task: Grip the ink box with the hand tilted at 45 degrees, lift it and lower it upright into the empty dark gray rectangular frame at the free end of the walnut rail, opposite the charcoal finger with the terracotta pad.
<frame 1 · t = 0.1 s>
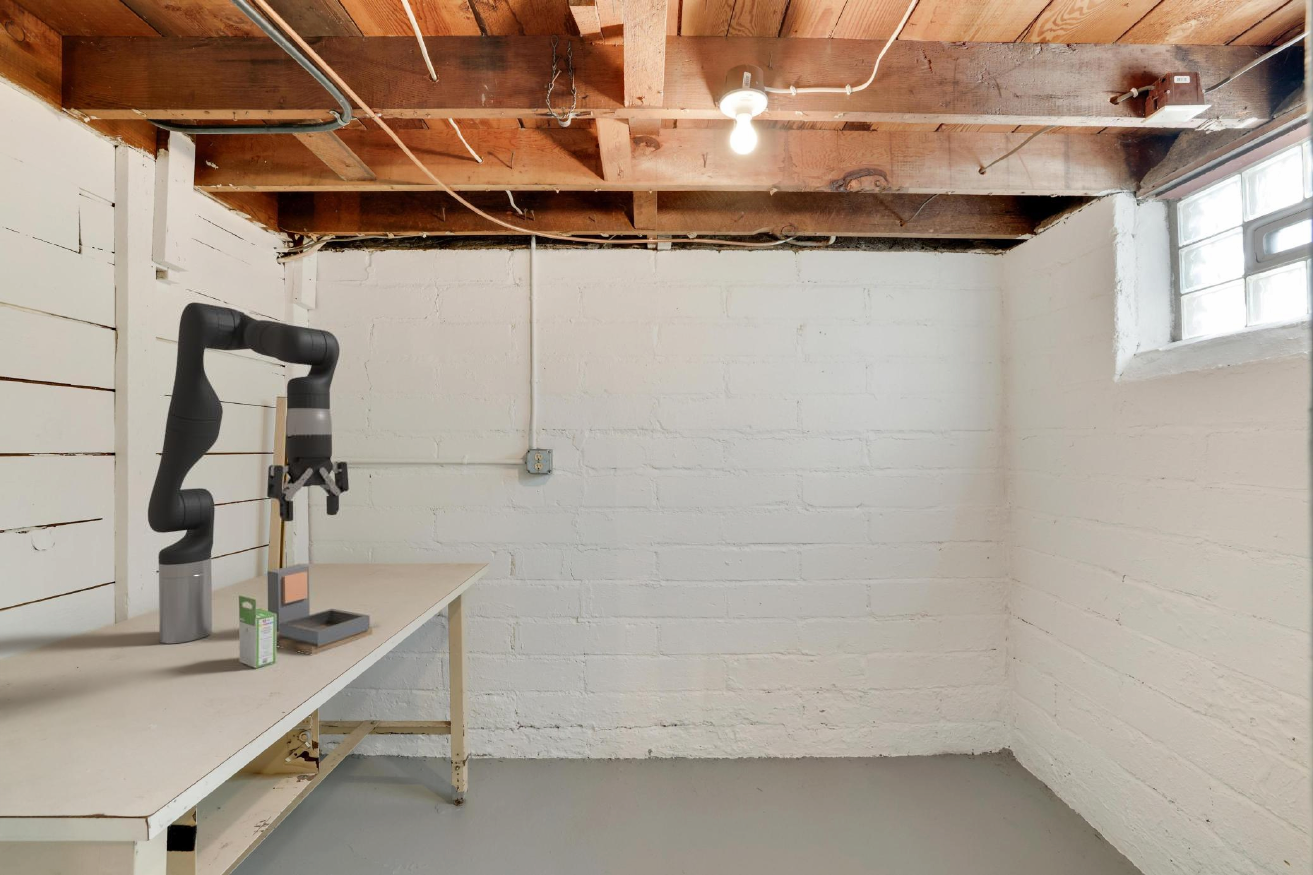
hand: (310, 517, 111), 29 cm above the workbench, tool pointing down, fingers open, 8 cm apart
dark gray rectangular frame: (325, 639, 128), resting on walnut rail base
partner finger: (289, 631, 133), resting on walnut rail base
walnut rail base: (311, 636, 130), on the workbench
ink box: (258, 663, 115), on the workbench
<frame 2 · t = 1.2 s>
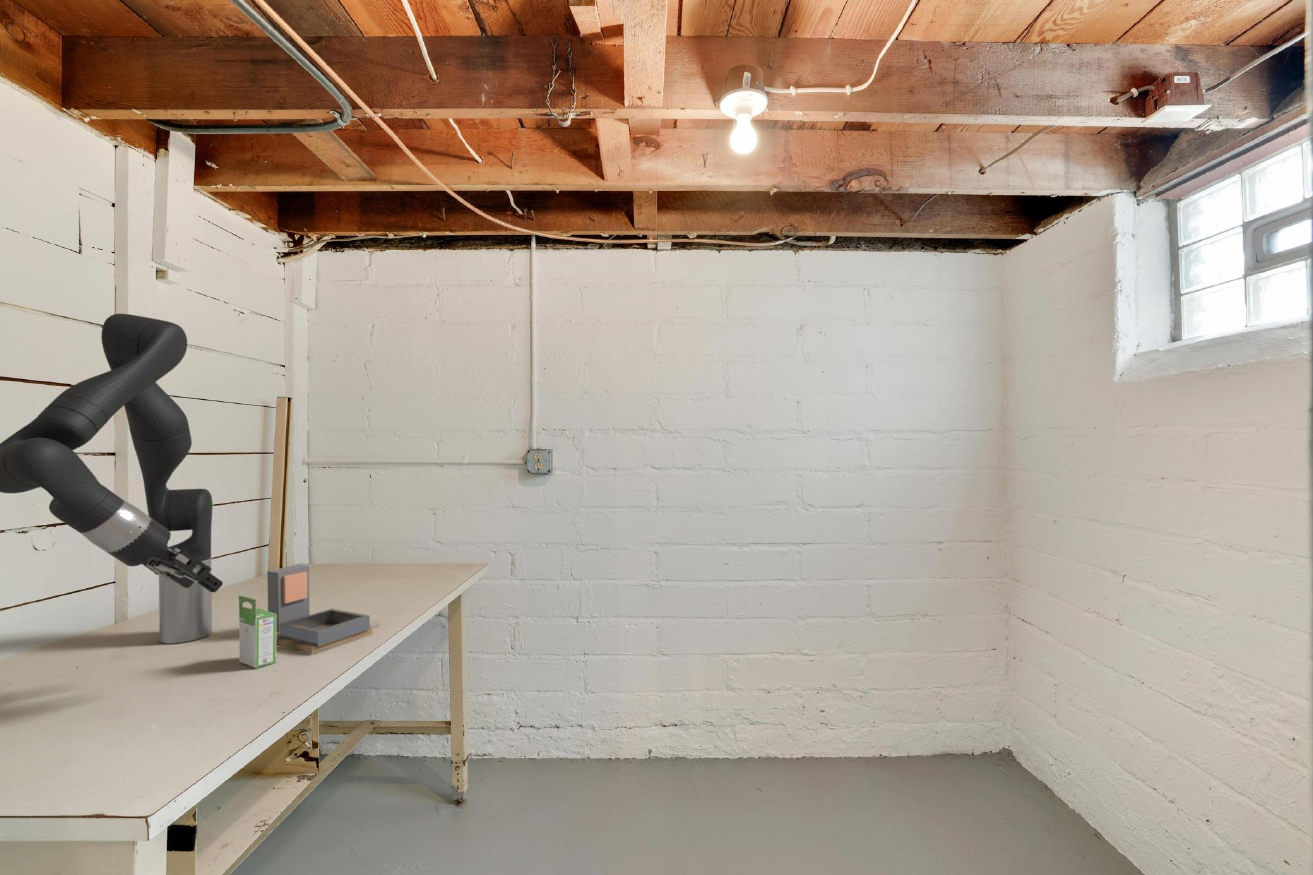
hand: (204, 585, 107), 17 cm above the workbench, tool tilted 45°, fingers open, 8 cm apart
nothing on the workbench moved.
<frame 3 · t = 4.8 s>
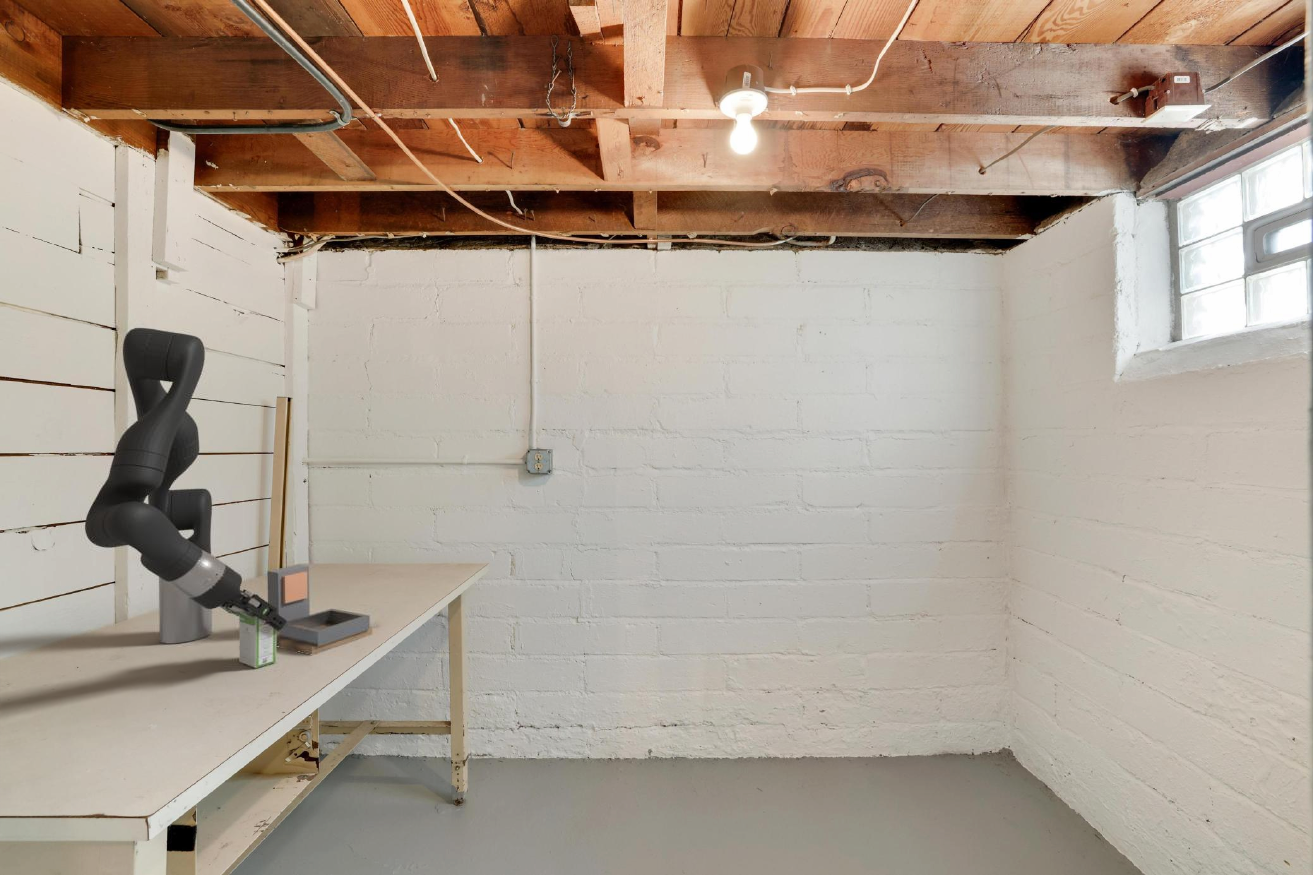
hand: (270, 623, 117), 7 cm above the workbench, tool tilted 45°, fingers closed on ink box, 7 cm apart
ink box: (258, 663, 115), on the workbench, touching gripper
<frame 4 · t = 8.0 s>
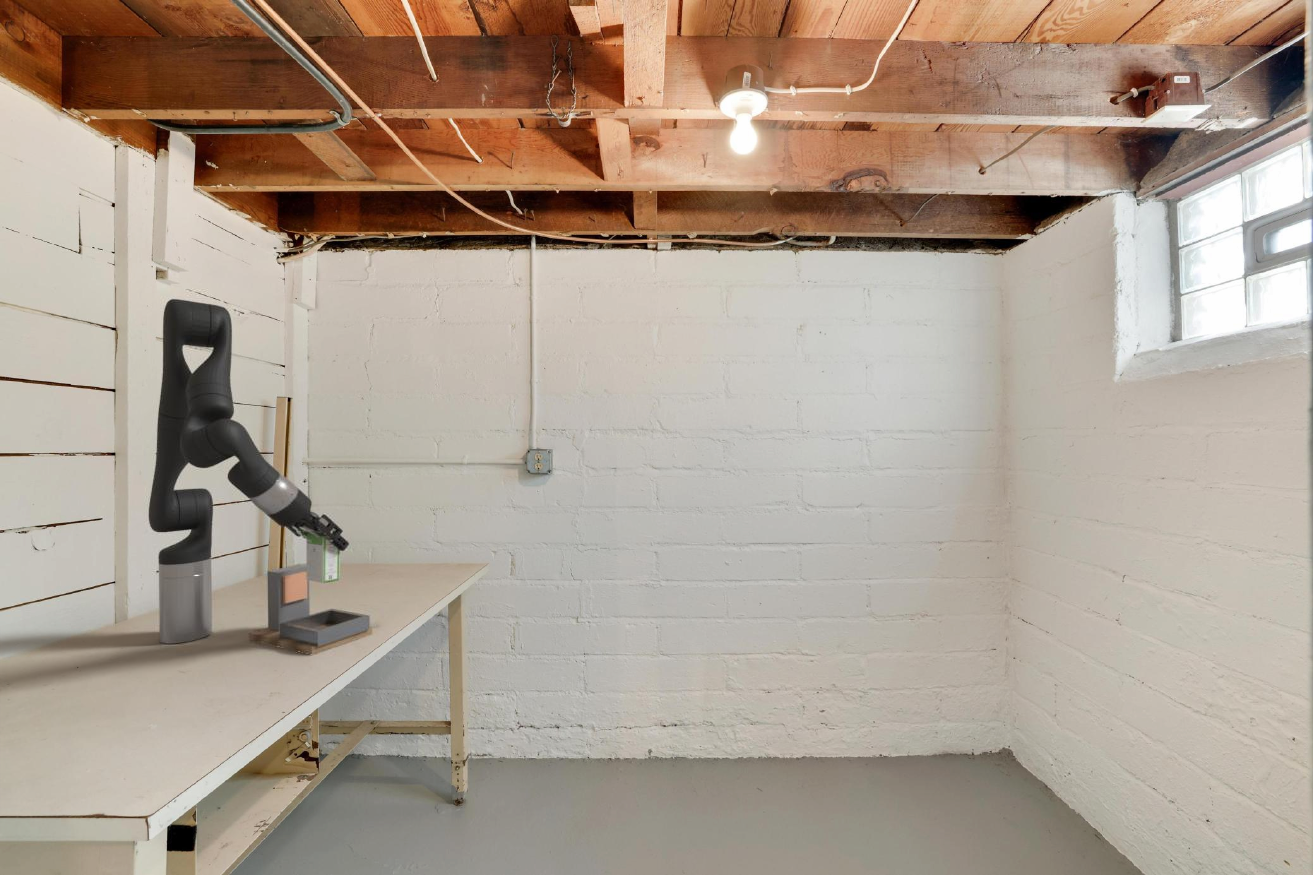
hand: (333, 546, 130), 20 cm above the workbench, tool tilted 45°, fingers closed on ink box, 7 cm apart
ink box: (323, 581, 127), point 13 cm above the workbench, touching gripper
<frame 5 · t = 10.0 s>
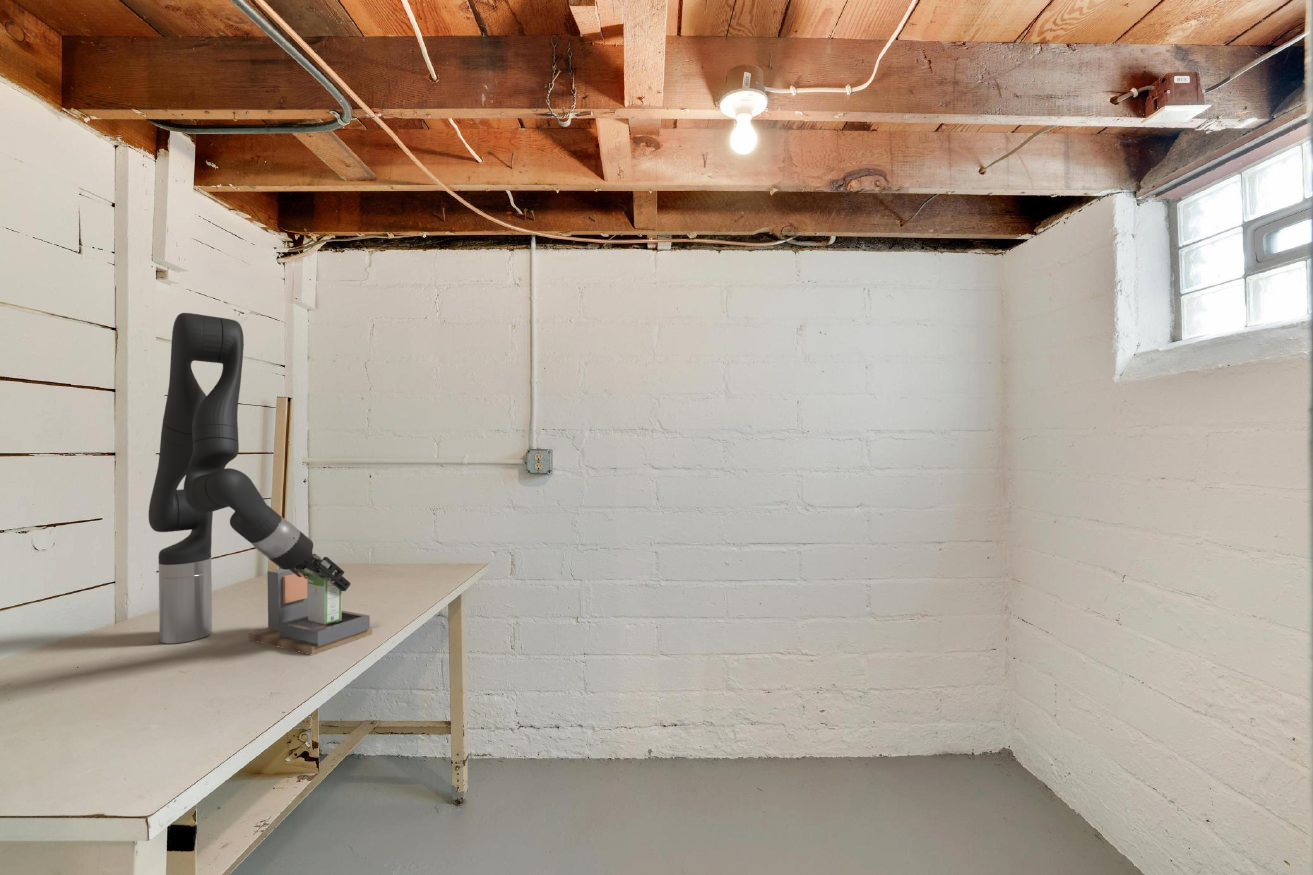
hand: (335, 586, 130), 11 cm above the workbench, tool tilted 45°, fingers closed on ink box, 7 cm apart
ink box: (325, 621, 128), point 4 cm above the workbench, touching gripper
when the fingers open (10 cm above the workbench, at t = 11.5 s): ink box drops 1 cm, resting on walnut rail base.
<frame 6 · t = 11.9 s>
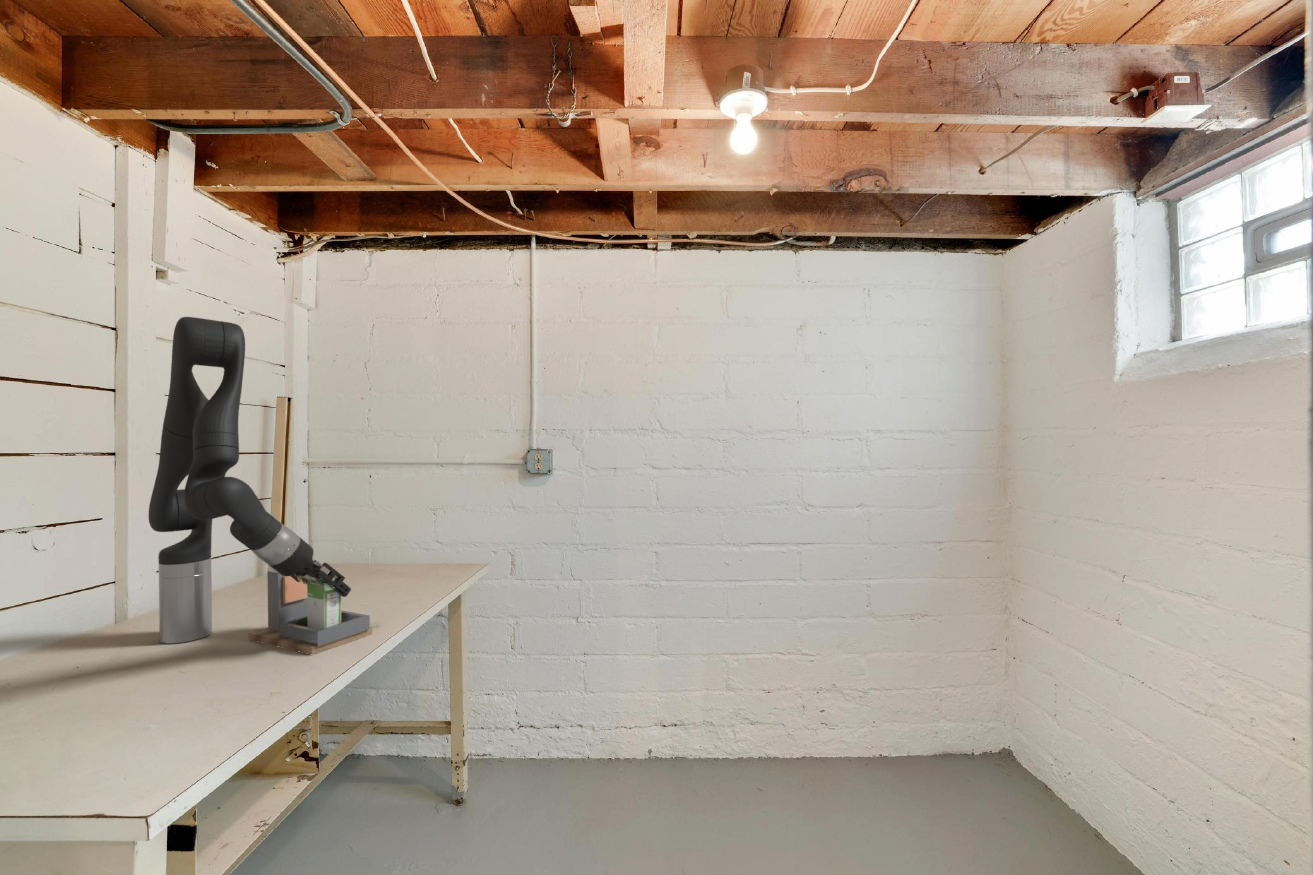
hand: (335, 591, 130), 10 cm above the workbench, tool tilted 45°, fingers open, 8 cm apart
ink box: (324, 634, 128), point 1 cm above the workbench, touching walnut rail base
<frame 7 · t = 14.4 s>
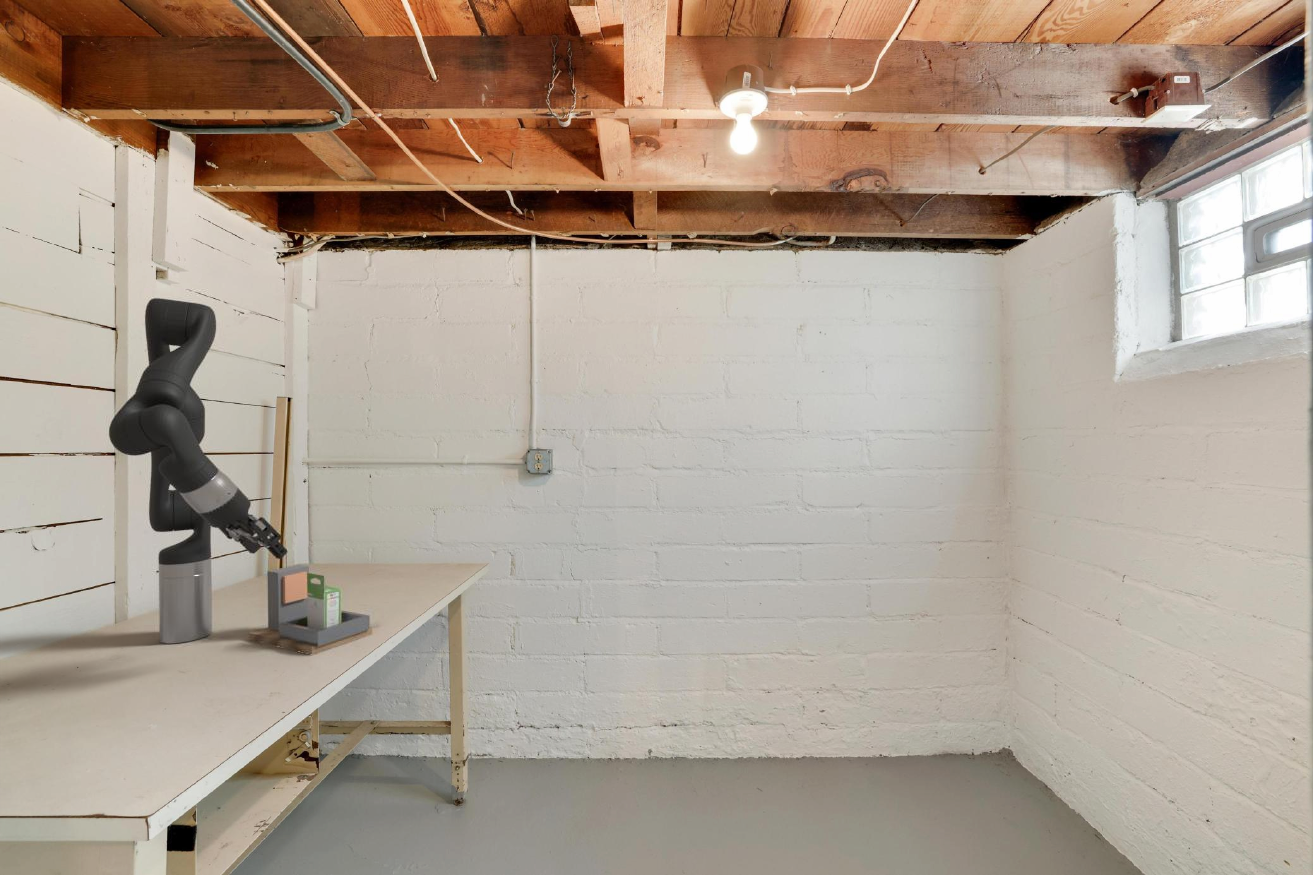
hand: (269, 552, 119), 21 cm above the workbench, tool tilted 40°, fingers open, 8 cm apart
nothing on the workbench moved.
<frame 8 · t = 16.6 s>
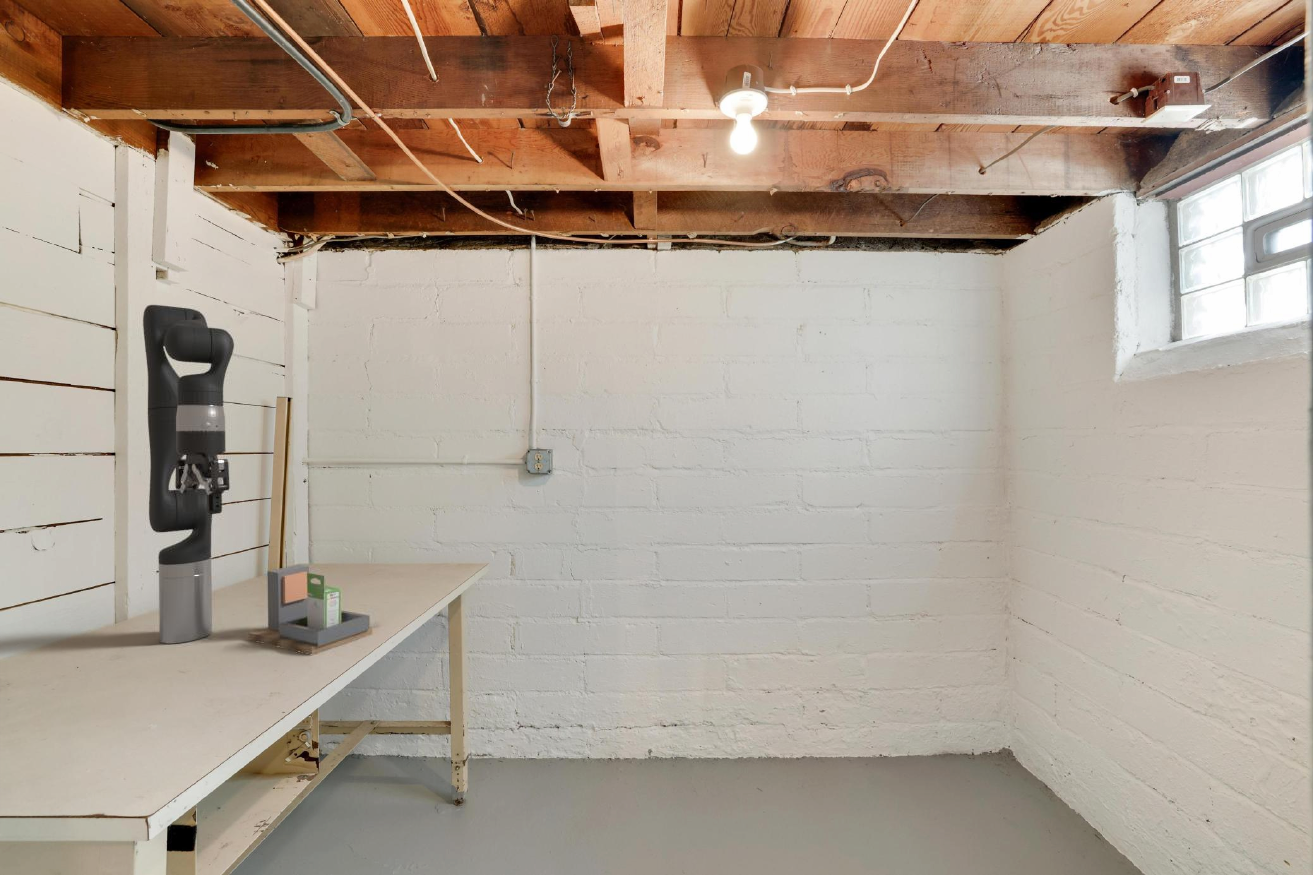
hand: (202, 512, 113), 30 cm above the workbench, tool pointing down, fingers open, 8 cm apart
nothing on the workbench moved.
at the end: ink box inside the target area (0.2 cm from its centre), point 1.3 cm above the workbench; ink box tilted 0°; the gripper is holding nothing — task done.
